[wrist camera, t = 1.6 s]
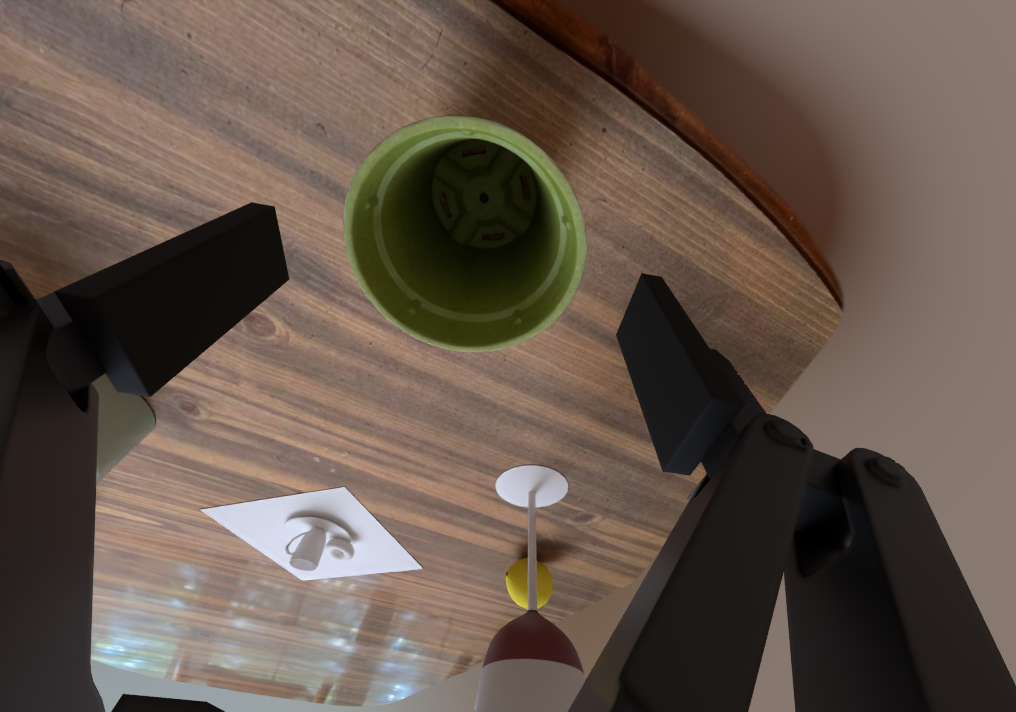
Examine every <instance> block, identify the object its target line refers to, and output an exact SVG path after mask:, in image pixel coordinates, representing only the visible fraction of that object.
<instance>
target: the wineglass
mask: <svg viewBox="0 0 1016 712" xmlns="http://www.w3.org/2000/svg"><path fill="white" fill-rule="evenodd" d="M495 485H496V491H497V492H498V494H499V495H500V497H501V498H503V499H504V500H506V501H507V502H509V503H512V504H514V505H517V506H522V507H528V611H527V613H525V614H524V615H522V616H520V617H518V618H516V619H514V620H512V621H511V622H509V623H508V624H507V625H505V626H504V627H503V628H501V629H500V631H499V632H498V633H497V634H496V635H495V636H494V638H493V640H492V641H491V643H490V646H489V648H488V651H487V654H486V657H485V660H484V664H483V668H482V672H481V676H480V681H479V686H478V691H477V697H476V703H475V710H474V712H568V710H569V708H570V707H571V705H572V703H573V701H574V700H575V698H576V696H577V694H578V693H579V691H580V689H581V688H582V686H583V684H584V682H585V681H586V679H585V675H584V672H583V668H582V665H581V662H580V660H579V657H578V654H577V652H576V650H575V648H574V646H573V644H572V643H571V641H570V640H569V639H568V637H567V636H566V635H565V634H564V633H563V632H562V631H561V630H560V629H559V628H557V627H556V626H555V625H554V624H553V623H551V622H550V621H548V620H547V619H545V618H544V617H543V616H541V615H540V614H539V613H538V612H537V561H536V507H544V506H549V505H551V504H554V503H556V502H558V501H559V500H561V499H562V498H564V496H565V495H566V493H567V492H568V483H567V481H566V479H565V478H564V477H563V476H562V475H561V474H560V473H559V472H557V471H555V470H552V469H550V468H547V467H542V466H537V465H525V466H520V467H515V468H512V469H510V470H508V471H505V472H504V473H503V474H502V475H501V476H499V477H498V479H497V482H496V484H495Z"/></svg>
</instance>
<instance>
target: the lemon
mask: <svg viewBox="0 0 1016 712" xmlns="http://www.w3.org/2000/svg"><path fill="white" fill-rule="evenodd" d="M536 561H537V560H536ZM506 583H507V589H508V591H509V594H510V596H511V598H512V599H513V600H514V601H515V602H516V603H517V604H518V605H519V606H522V607H524V608H526V609H528V558H523V559H520V560H517V561H516V562H515V563H514V564H513V565H512V566H511V567H510V569H509V570H508V571H507V573H506ZM552 590H553V580H552V576H551V574H550V572H549V571H548V569H547V568H546V566H545V565H543V564H542V563H540V562H539V561H537V608H540V607H542V606H543V605H545V604H546V603H547V602H548V600H549V598H550V596H551V595H552Z"/></svg>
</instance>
